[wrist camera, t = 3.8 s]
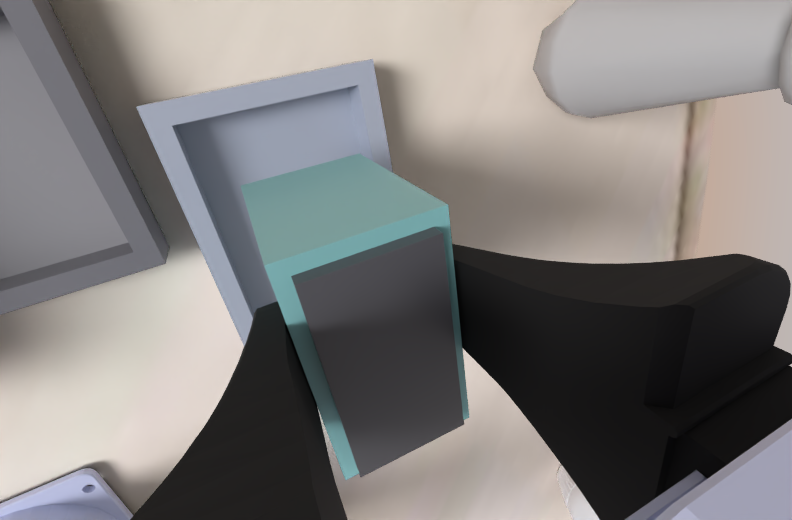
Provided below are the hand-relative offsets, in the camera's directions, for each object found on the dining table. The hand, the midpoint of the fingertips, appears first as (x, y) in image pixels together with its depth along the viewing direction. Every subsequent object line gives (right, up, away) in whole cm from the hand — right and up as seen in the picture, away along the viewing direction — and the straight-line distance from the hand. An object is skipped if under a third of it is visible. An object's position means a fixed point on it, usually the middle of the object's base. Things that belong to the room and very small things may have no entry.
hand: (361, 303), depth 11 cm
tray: (-4, +4, +8) cm, 9 cm away
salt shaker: (+10, +12, +11) cm, 19 cm away
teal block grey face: (-2, +1, +4) cm, 4 cm away
